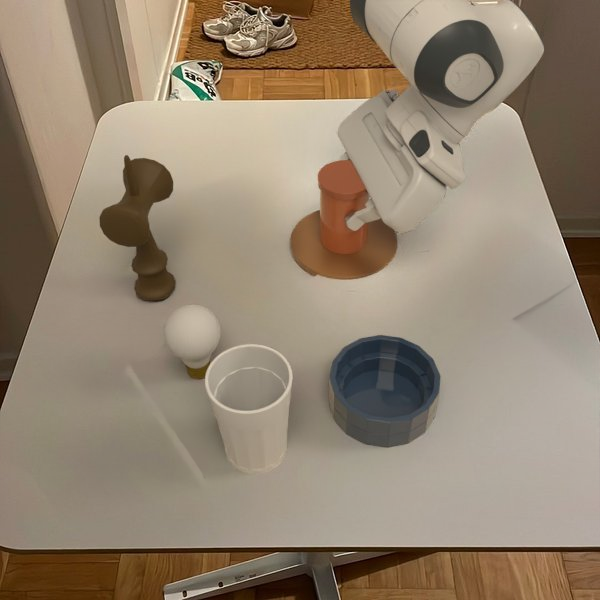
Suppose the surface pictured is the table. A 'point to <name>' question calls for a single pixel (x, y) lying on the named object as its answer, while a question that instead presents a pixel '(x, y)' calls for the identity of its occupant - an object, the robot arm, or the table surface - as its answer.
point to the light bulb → (193, 337)
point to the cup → (251, 405)
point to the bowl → (383, 390)
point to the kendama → (141, 225)
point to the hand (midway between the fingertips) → (339, 206)
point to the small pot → (341, 207)
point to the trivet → (342, 265)
